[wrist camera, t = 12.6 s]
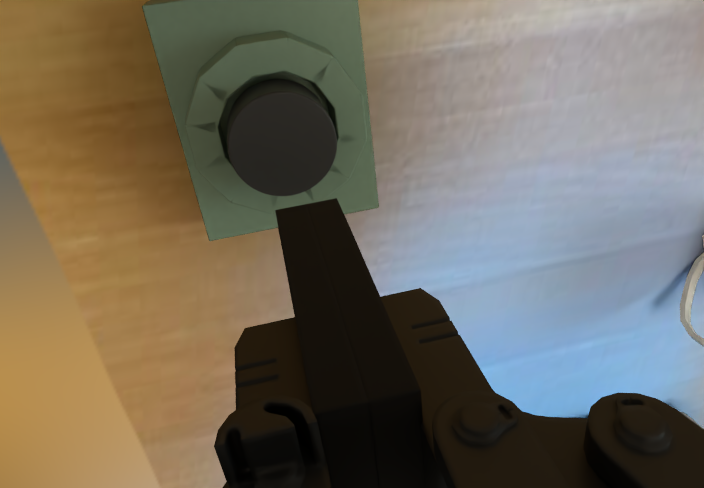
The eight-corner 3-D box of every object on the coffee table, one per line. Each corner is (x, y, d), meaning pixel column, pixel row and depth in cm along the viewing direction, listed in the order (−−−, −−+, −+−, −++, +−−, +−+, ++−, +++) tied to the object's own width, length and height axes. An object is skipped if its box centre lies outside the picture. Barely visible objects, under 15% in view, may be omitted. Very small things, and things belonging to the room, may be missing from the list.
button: (216, 88, 20) (215, 101, 19) (320, 70, 21) (329, 82, 19) (239, 185, 23) (240, 206, 21) (334, 167, 23) (343, 186, 21)
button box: (148, 0, 22) (134, 11, 18) (344, -29, 23) (365, -23, 19) (210, 220, 27) (208, 261, 23) (368, 189, 28) (389, 224, 24)
